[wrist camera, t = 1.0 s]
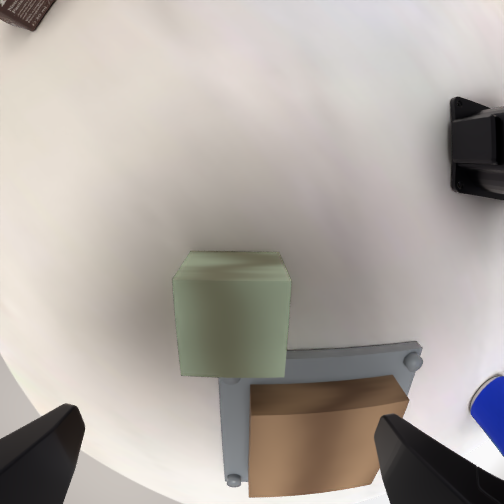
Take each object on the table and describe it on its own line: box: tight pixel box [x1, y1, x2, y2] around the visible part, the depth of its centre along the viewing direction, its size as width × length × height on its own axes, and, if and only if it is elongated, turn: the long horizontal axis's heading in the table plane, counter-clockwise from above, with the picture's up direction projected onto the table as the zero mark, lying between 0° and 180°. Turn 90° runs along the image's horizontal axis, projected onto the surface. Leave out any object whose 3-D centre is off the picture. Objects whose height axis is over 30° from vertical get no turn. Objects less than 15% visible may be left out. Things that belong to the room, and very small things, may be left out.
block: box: [172, 251, 292, 378], centre depth 16 cm, size 5×5×5 cm
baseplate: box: [219, 341, 423, 487], centre depth 20 cm, size 14×14×2 cm
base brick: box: [248, 375, 409, 497], centre depth 19 cm, size 10×10×3 cm
